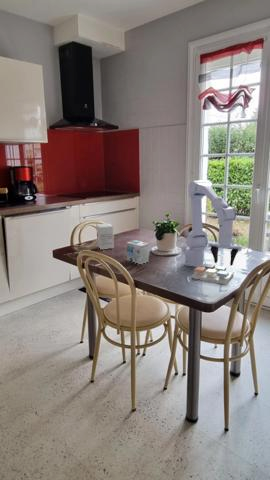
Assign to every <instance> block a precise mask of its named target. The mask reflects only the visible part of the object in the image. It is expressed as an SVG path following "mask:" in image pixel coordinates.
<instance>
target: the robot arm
mask: <svg viewBox="0 0 270 480" xmlns="http://www.w3.org/2000/svg"><path fill="white" fill-rule="evenodd" d="M188 195H189V198H190V204H191V205H190V207H191V208H190V209H191V226H192V231H191V232H189V231H188V233H187V238H186V245H187V247H186V248H185V252H184V265H185V266H190V267H193V268H194V267H195V268H196V267H204V266H205V265H206V264H207V262H205V261H204V259H205V257H204V256H205V249H206V247H207V246H208V248H210V249H209V250H210V252H211V254H212V256H213V260H214V261H213V262H214V264H217V263H218V259H219V258H218V257H219V255H218V254H219V249H226V250H230V262H229V266H230V267H231V266H233V265H234V261H235V258H236V256H237V254H238V252H242V250H243V246H242V245H239V244H235V243H232V242H233V241H232V238H233V226H234V225H233V224H234V220H236V218H237V211H236V209H235V207H234V206H230V205H228V204H227V203H226V201H225V200H224V199H223V197H222V196H218V195H217V193H216V192H215V190H214V189H213V183H212V181H211V180H209V179H207V180H206V179H205V180H191V181H190V182H189V184H188ZM204 197H206V198H207V199H209V201H210V206H211V207H212V208H213V210H214V211H215V212H216V218H217V224H218V238H217V241H218V242H217V241H209V239H208V233H207V232H206V231H204V230H203V215H202V214H203V212H202V211H203V210H202V209H203V208H202V200H203V198H204ZM198 235H201V236H198Z"/></svg>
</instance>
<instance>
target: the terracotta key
mask: <svg viewBox="0 0 270 480" xmlns="http://www.w3.org/2000/svg"><path fill="white" fill-rule="evenodd" d="M203 267H204V266H203ZM203 267H195V268H194V271H193V272H194V273H195V272H196V273H202V274H203V273H204V272H205V269H206V268H203Z"/></svg>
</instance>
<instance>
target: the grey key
mask: <svg viewBox="0 0 270 480" xmlns="http://www.w3.org/2000/svg"><path fill="white" fill-rule="evenodd" d="M203 267H204V268H206V270H208V269H216V265H215V264H210V263H206V264H205V265H204V266H203Z"/></svg>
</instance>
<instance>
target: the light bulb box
mask: <svg viewBox="0 0 270 480" xmlns="http://www.w3.org/2000/svg"><path fill="white" fill-rule="evenodd" d="M149 245H150V244H149V243H148V242H144V241H140V240H137V239H134V240H131V241H128V242H126V257H127V258H126V261H127V260H129V261H128V262H130V261H132V262H131V263H133V262H135V263H134V264H136V263H138V264H137V265H139V264H142V265H144V264H143V263H145V264H147V263H146V262H148V263H149V262H150V261H149V257H150V255H149V254H150V253H149V251H150V249H149V248H150V247H149Z"/></svg>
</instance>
